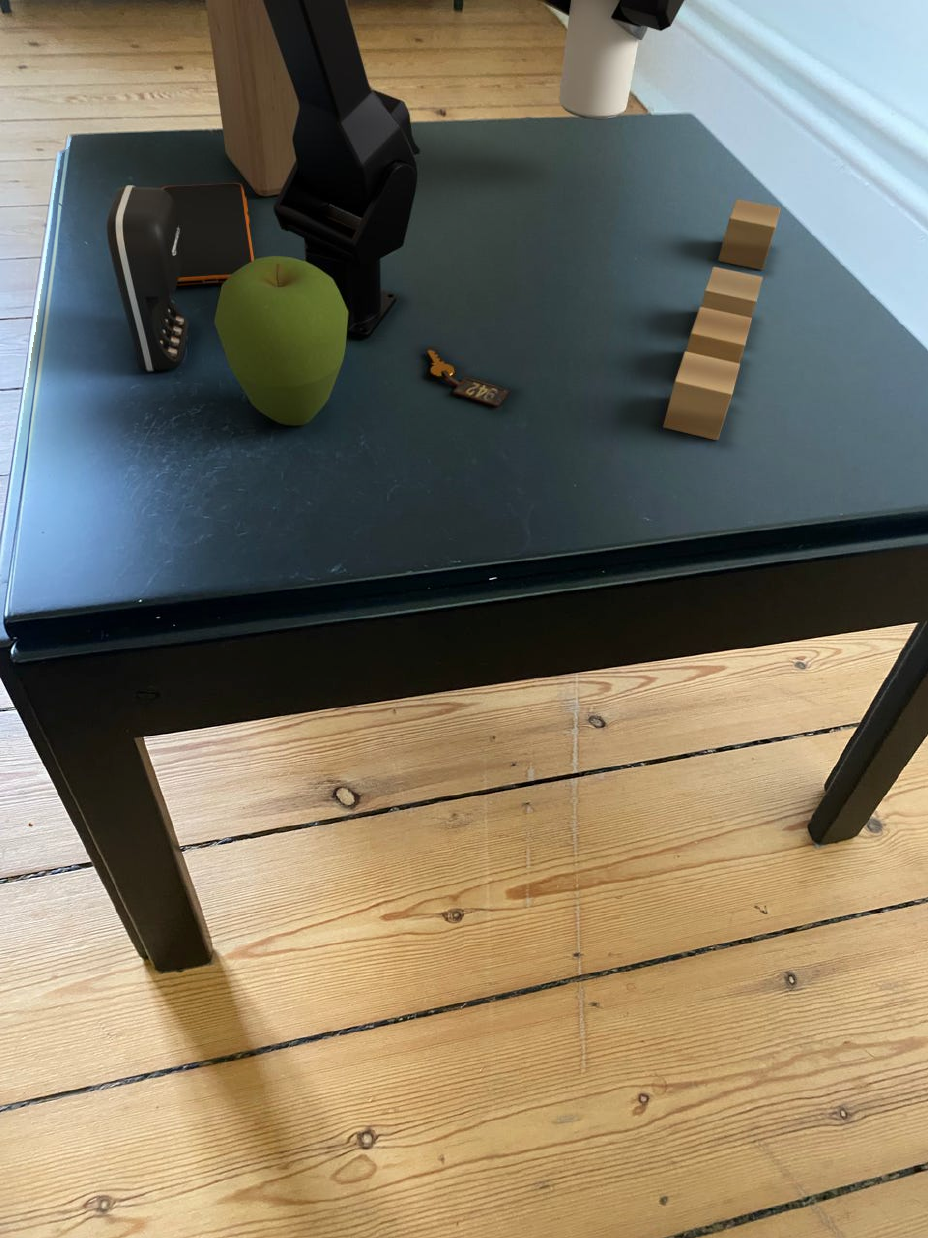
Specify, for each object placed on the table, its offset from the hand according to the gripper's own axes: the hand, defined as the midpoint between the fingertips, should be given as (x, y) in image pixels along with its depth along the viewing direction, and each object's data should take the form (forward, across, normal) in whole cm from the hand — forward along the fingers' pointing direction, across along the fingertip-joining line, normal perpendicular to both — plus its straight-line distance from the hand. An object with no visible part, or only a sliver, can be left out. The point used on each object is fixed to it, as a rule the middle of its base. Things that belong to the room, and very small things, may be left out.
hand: (612, 24), depth 86 cm
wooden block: (-5, +21, +24) cm, 33 cm away
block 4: (-10, -28, +30) cm, 42 cm away
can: (+4, 0, +6) cm, 7 cm away
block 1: (+7, -19, +12) cm, 24 cm away
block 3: (-6, -26, +25) cm, 37 cm away
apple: (-24, -7, +44) cm, 50 cm away
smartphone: (-15, +17, +34) cm, 41 cm away
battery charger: (-24, +6, +44) cm, 51 cm away
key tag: (-16, -13, +35) cm, 41 cm away
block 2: (-2, -24, +21) cm, 32 cm away
